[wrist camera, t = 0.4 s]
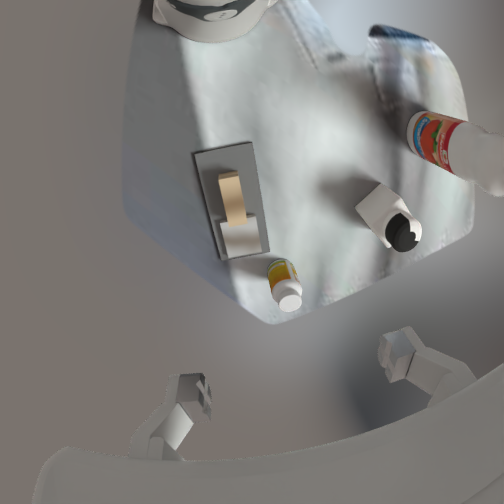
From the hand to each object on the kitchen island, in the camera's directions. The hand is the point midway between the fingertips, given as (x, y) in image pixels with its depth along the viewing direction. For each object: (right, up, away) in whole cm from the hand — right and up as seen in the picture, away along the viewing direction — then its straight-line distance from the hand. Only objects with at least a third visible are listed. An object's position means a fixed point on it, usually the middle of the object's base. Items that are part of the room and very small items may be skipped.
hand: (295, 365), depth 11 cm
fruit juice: (+30, +27, +29) cm, 50 cm away
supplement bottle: (+4, +2, +43) cm, 43 cm away
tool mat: (-5, +13, +34) cm, 37 cm away
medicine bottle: (+22, +14, +37) cm, 45 cm away
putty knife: (-4, +12, +35) cm, 37 cm away
